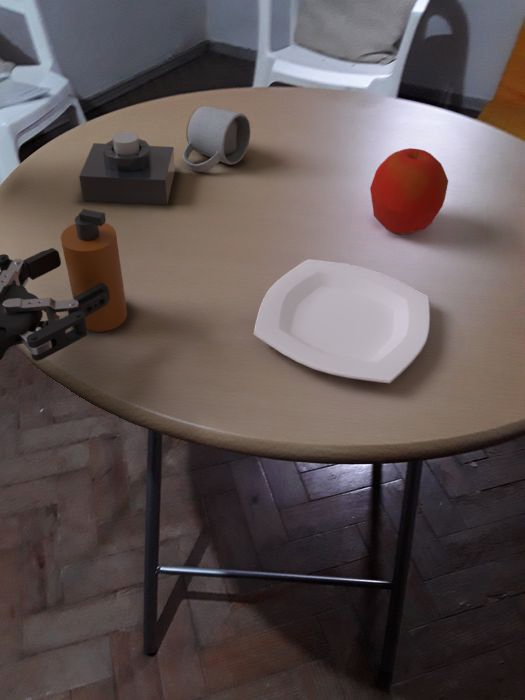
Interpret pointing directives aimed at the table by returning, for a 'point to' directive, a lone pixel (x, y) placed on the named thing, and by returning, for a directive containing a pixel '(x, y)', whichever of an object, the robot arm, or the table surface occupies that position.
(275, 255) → the table surface
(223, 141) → the ceramic mug
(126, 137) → the white push button
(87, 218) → the soap bottle
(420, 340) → the plate
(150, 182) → the push button base
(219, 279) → the table surface
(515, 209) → the table surface
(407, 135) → the table surface
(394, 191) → the apple
